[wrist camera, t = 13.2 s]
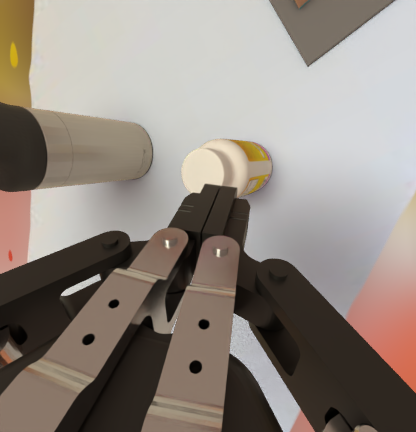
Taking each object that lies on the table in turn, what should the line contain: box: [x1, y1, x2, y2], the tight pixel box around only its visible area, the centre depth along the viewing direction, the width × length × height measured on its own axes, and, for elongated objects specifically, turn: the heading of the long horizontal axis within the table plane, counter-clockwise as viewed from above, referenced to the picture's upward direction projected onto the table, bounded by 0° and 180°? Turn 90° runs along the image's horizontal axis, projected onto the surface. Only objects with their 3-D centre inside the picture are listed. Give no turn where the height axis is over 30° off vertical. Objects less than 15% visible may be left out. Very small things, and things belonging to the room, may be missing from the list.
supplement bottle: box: [181, 139, 272, 198], centre depth 31 cm, size 7×7×13 cm
